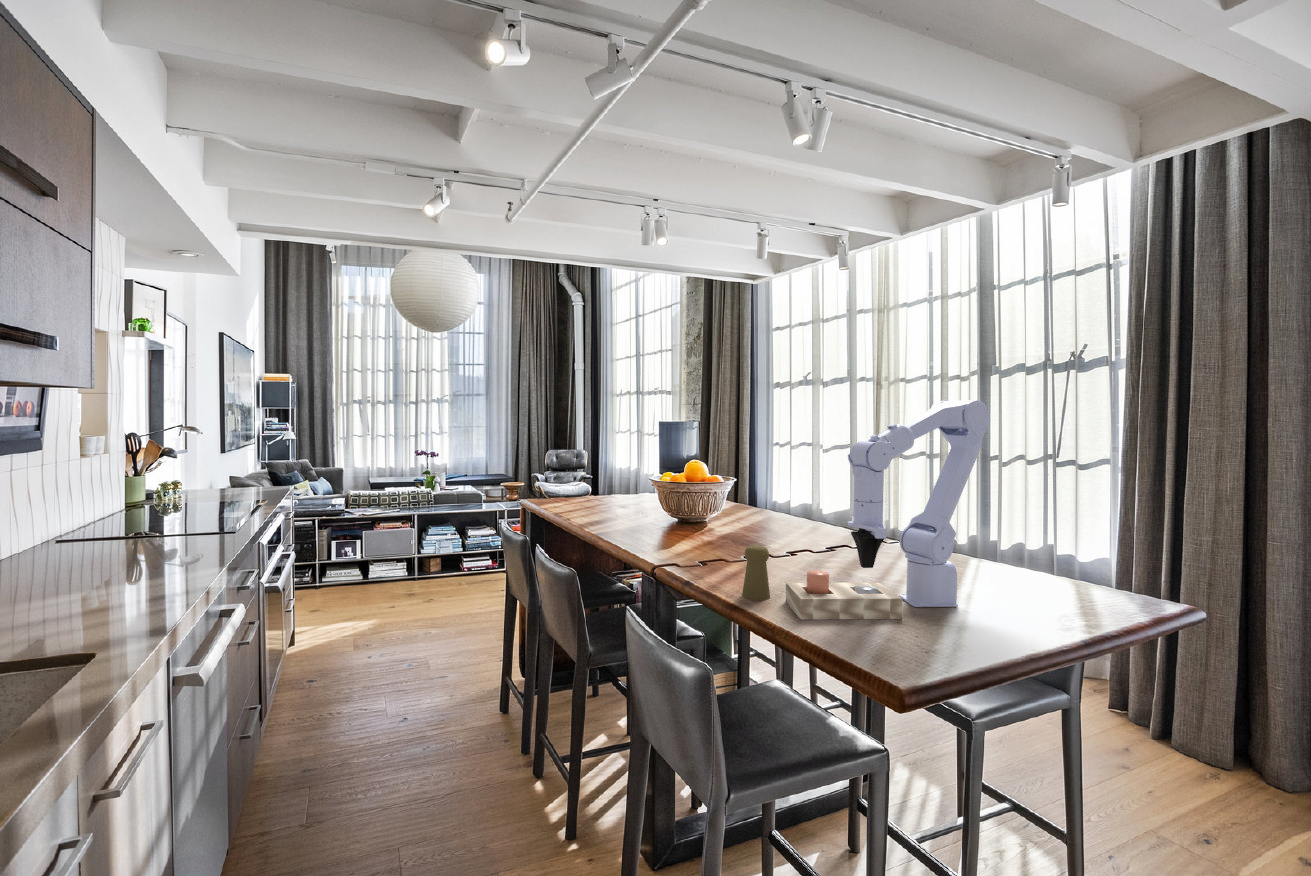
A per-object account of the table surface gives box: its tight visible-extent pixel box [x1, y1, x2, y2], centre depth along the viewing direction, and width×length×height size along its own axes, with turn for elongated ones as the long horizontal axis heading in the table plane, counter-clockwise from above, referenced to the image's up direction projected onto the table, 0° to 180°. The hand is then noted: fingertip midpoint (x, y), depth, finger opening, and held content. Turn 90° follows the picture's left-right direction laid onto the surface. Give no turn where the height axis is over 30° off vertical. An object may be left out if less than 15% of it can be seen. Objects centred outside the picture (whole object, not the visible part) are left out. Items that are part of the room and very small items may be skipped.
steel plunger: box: [855, 585, 878, 594], centre depth 137 cm, size 4×4×4 cm
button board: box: [785, 582, 903, 620], centre depth 136 cm, size 20×12×4 cm, turn 93°
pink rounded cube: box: [806, 570, 830, 594], centre depth 136 cm, size 4×4×4 cm
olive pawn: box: [741, 544, 771, 601], centre depth 145 cm, size 6×6×11 cm
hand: (866, 567), depth 136 cm, fingers closed
